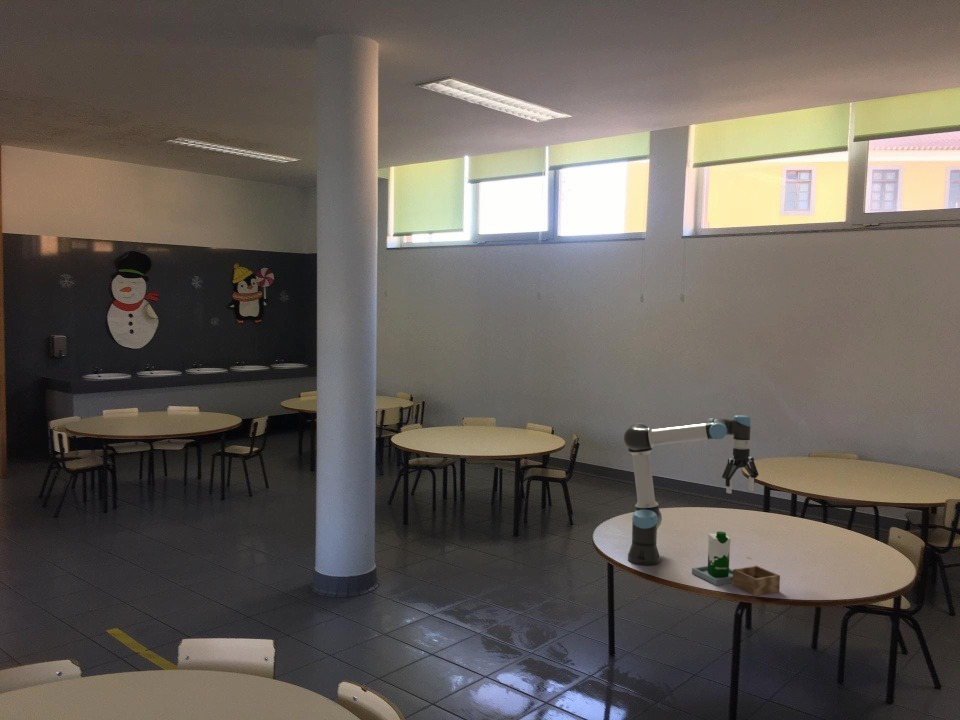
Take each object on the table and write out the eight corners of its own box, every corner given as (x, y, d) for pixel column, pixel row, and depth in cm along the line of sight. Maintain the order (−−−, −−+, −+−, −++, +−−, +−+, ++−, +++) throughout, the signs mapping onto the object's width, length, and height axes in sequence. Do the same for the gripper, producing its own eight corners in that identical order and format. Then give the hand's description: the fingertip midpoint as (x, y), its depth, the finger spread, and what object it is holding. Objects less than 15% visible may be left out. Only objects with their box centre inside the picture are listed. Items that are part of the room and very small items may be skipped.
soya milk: (712, 578, 322) (713, 534, 321) (704, 571, 331) (706, 528, 330) (731, 578, 323) (732, 534, 322) (723, 571, 332) (725, 528, 331)
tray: (716, 585, 316) (716, 579, 316) (691, 573, 331) (692, 568, 331) (744, 580, 323) (744, 575, 323) (719, 569, 337) (719, 563, 337)
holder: (755, 595, 305) (756, 579, 304) (732, 584, 317) (733, 569, 317) (779, 591, 310) (779, 575, 310) (755, 580, 323) (756, 565, 322)
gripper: (726, 450, 334) (724, 495, 335) (767, 447, 344) (765, 491, 345) (715, 448, 341) (713, 492, 342) (755, 445, 351) (754, 488, 352)
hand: (740, 492), depth 343 cm, fingers open, 13 cm apart
